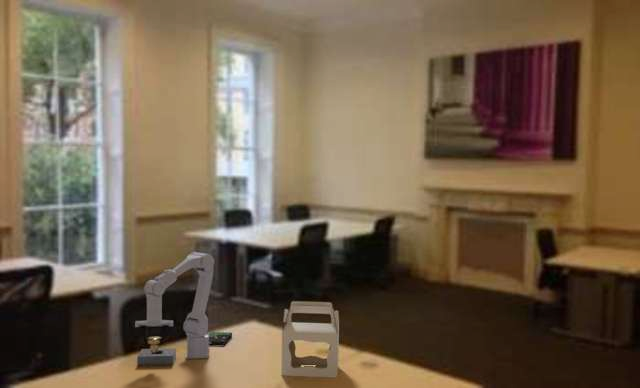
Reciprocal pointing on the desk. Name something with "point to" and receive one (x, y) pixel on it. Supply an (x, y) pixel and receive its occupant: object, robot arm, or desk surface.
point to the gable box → (310, 334)
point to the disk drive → (219, 338)
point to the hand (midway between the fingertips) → (154, 344)
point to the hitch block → (156, 357)
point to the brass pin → (154, 343)
